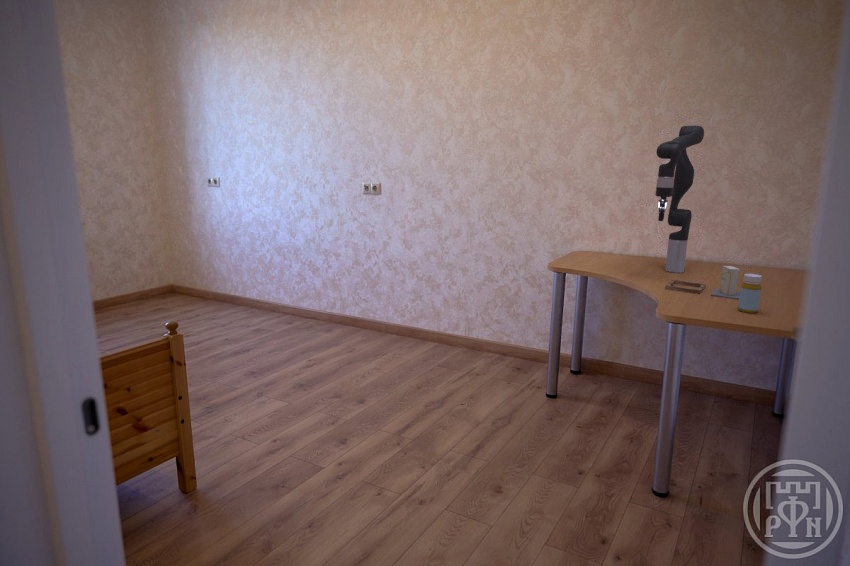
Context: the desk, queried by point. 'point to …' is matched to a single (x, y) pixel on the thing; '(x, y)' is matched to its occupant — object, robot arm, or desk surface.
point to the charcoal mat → (719, 294)
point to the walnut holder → (699, 290)
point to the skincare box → (729, 280)
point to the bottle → (750, 293)
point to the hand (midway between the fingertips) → (661, 220)
